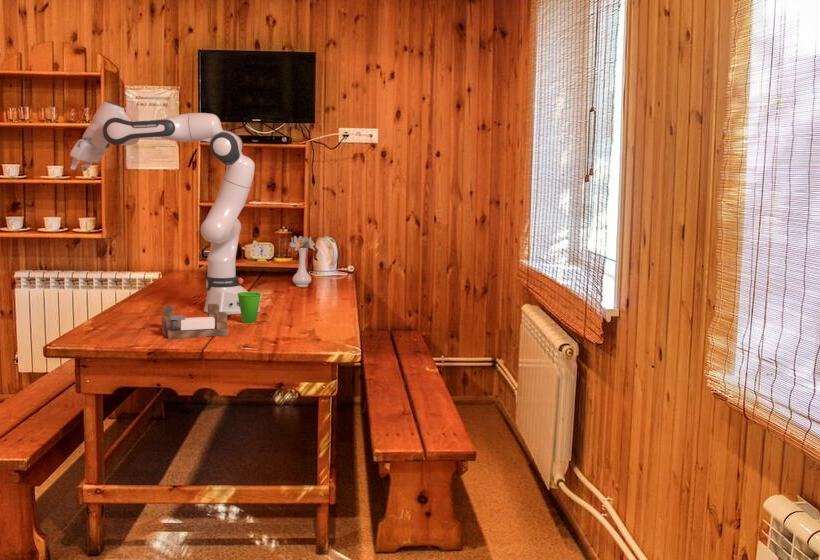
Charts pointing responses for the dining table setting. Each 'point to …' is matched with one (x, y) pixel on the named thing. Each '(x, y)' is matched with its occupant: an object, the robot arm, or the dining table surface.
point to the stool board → (174, 331)
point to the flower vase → (302, 260)
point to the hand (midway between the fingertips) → (78, 169)
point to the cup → (249, 306)
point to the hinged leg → (195, 322)
